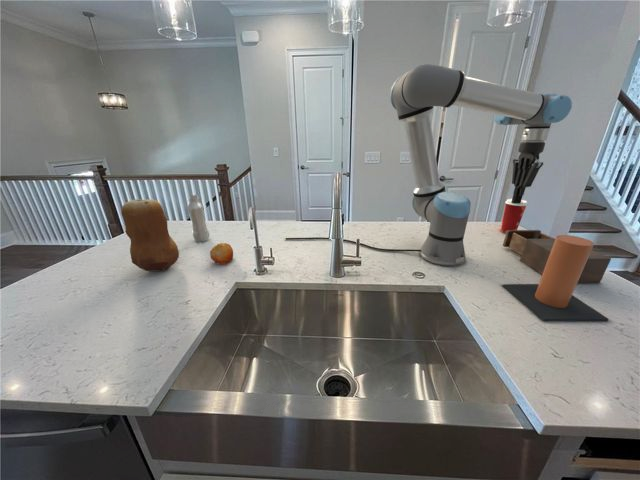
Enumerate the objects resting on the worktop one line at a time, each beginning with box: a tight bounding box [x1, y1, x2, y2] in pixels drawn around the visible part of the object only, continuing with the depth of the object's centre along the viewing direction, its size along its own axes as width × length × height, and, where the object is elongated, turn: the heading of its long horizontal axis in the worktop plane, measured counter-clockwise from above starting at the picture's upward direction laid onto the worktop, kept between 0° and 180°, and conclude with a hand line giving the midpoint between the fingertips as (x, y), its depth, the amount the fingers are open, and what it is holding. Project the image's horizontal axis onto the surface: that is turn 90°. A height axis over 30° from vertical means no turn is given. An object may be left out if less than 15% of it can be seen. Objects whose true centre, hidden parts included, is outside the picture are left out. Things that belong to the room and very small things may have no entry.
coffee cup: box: [500, 198, 528, 234], centre depth 118 cm, size 8×8×15 cm
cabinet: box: [519, 238, 612, 284], centre depth 86 cm, size 16×14×9 cm
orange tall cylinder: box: [535, 234, 595, 308], centre depth 68 cm, size 7×7×18 cm
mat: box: [501, 283, 609, 322], centre depth 72 cm, size 16×16×1 cm
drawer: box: [502, 229, 555, 256], centre depth 98 cm, size 19×12×7 cm, turn 179°
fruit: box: [209, 242, 234, 265], centre depth 95 cm, size 8×8×8 cm
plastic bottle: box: [186, 194, 210, 242], centre depth 112 cm, size 6×7×20 cm
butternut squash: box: [120, 198, 180, 272], centre depth 87 cm, size 14×13×25 cm
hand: (515, 202), depth 106 cm, fingers closed
